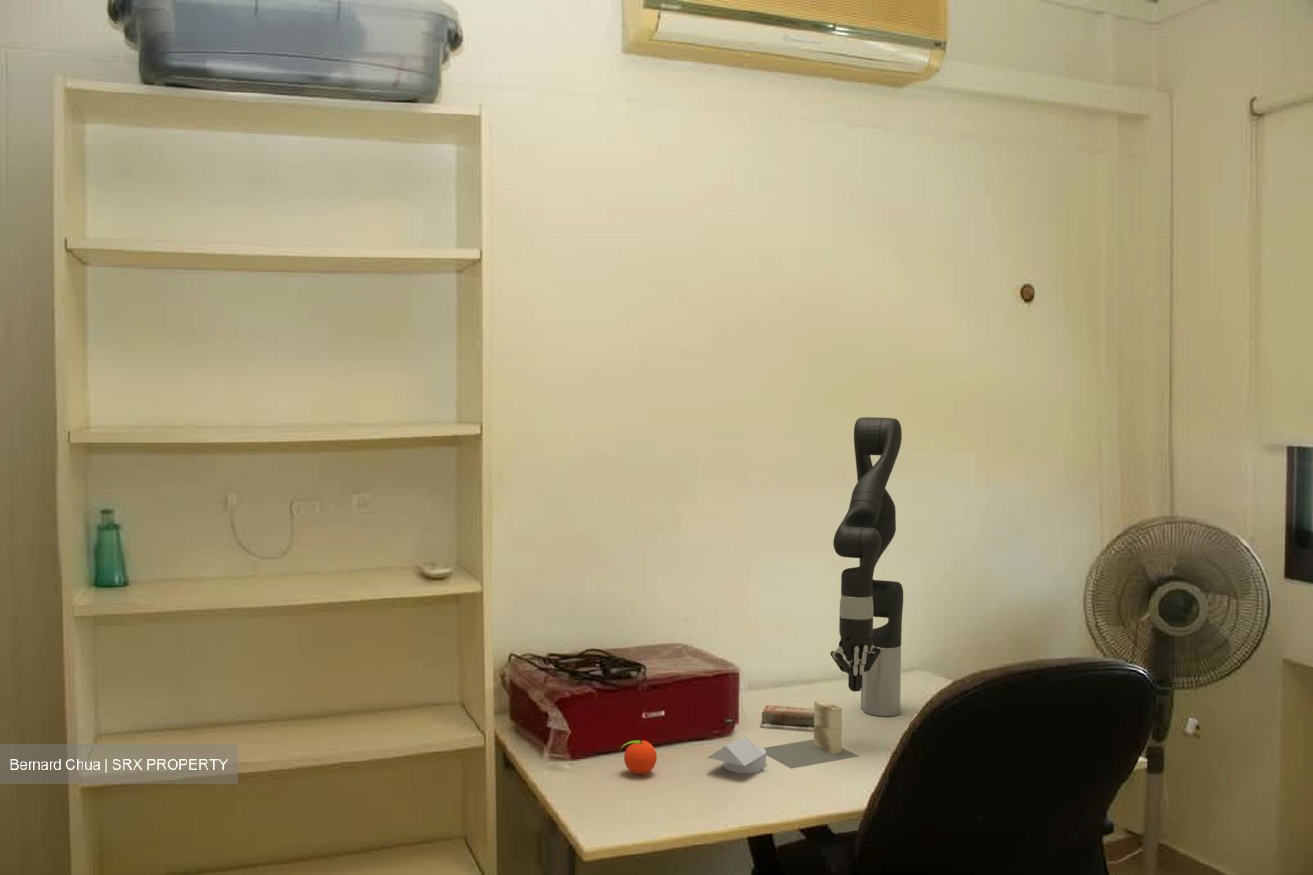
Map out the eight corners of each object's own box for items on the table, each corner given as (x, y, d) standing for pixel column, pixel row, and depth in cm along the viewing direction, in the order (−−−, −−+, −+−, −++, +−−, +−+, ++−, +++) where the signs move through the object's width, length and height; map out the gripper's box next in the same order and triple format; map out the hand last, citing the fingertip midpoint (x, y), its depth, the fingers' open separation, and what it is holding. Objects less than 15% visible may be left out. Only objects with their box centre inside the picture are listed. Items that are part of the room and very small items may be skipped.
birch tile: (813, 745, 249) (814, 701, 249) (823, 743, 250) (823, 700, 250) (832, 754, 243) (832, 709, 242) (841, 752, 244) (842, 708, 244)
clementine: (618, 778, 228) (618, 745, 228) (619, 767, 235) (619, 734, 235) (656, 779, 228) (656, 745, 228) (656, 767, 235) (657, 735, 235)
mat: (755, 751, 246) (755, 749, 246) (821, 740, 254) (821, 737, 254) (791, 770, 234) (791, 768, 234) (859, 758, 242) (859, 755, 242)
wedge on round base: (744, 781, 227) (773, 764, 238) (744, 749, 227) (773, 733, 238) (706, 773, 232) (736, 756, 243) (707, 741, 232) (736, 726, 243)
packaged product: (759, 711, 262) (765, 700, 271) (759, 731, 262) (764, 719, 272) (835, 717, 257) (838, 705, 267) (835, 737, 258) (838, 725, 267)
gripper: (869, 609, 255) (868, 683, 256) (822, 614, 249) (821, 689, 250) (890, 615, 248) (888, 691, 249) (842, 620, 242) (841, 697, 243)
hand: (855, 690), depth 249 cm, fingers closed
